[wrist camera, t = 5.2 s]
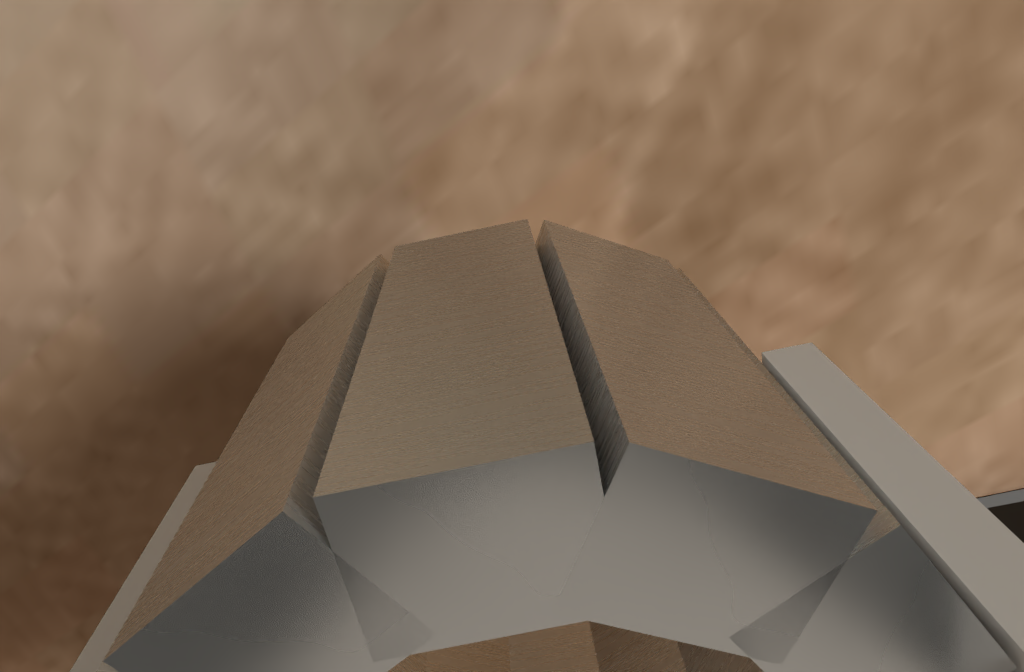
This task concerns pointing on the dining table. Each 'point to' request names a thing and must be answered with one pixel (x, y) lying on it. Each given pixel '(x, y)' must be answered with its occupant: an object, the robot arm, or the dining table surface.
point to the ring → (536, 492)
